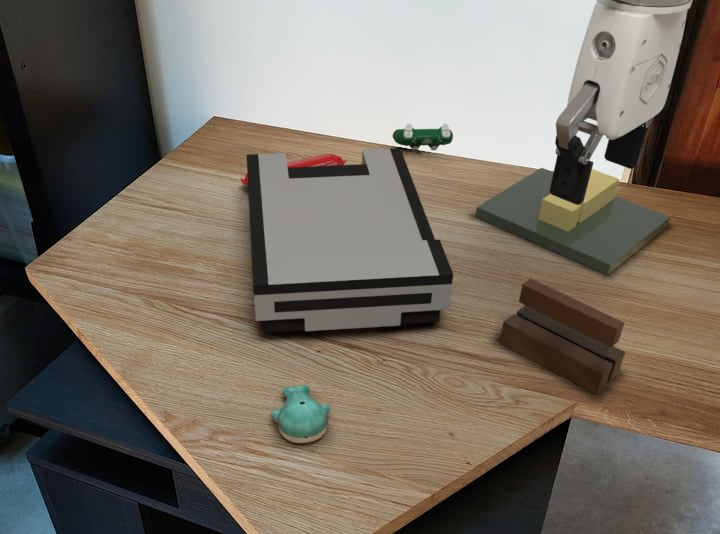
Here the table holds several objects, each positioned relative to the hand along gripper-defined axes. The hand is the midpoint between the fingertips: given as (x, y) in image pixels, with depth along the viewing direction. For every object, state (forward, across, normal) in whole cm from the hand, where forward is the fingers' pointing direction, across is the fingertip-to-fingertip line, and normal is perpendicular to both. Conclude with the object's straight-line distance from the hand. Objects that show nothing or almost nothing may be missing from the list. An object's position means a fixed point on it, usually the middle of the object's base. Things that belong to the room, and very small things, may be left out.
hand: (593, 180), depth 72 cm
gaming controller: (+20, +28, +41) cm, 53 cm away
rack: (+20, -2, -2) cm, 20 cm away
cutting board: (+20, +24, +12) cm, 34 cm away
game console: (+20, -5, +28) cm, 35 cm away
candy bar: (+17, +6, +47) cm, 50 cm away
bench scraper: (+20, -2, -2) cm, 20 cm away
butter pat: (+18, +20, +12) cm, 30 cm away
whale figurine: (+20, -28, +11) cm, 36 cm away
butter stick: (+18, +27, +12) cm, 35 cm away
